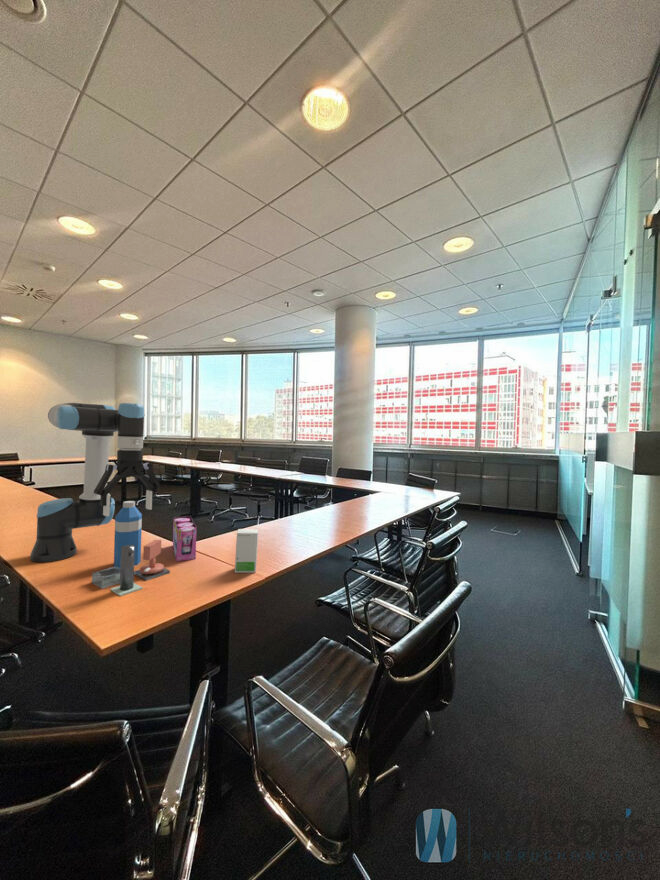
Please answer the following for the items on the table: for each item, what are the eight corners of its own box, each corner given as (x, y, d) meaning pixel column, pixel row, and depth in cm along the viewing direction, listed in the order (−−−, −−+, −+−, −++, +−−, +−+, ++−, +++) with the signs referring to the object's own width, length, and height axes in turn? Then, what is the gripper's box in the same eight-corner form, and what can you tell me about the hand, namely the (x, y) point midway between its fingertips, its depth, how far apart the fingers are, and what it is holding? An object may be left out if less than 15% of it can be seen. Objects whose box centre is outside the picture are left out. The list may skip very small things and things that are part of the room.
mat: (110, 590, 115) (110, 588, 115) (132, 583, 121) (132, 581, 121) (120, 596, 111) (120, 594, 111) (142, 588, 117) (142, 587, 117)
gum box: (196, 560, 145) (197, 528, 145) (176, 562, 141) (177, 530, 141) (190, 543, 166) (191, 515, 166) (172, 545, 162) (173, 517, 162)
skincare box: (234, 573, 133) (235, 533, 132) (236, 566, 139) (237, 528, 139) (256, 572, 134) (257, 532, 134) (257, 566, 140) (258, 528, 140)
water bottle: (128, 569, 133) (130, 504, 133) (107, 566, 135) (109, 503, 135) (145, 560, 142) (147, 500, 142) (126, 558, 144) (128, 499, 144)
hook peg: (117, 588, 116) (118, 546, 116) (130, 584, 119) (131, 544, 119) (125, 593, 112) (126, 550, 112) (138, 588, 116) (139, 547, 116)
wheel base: (133, 574, 129) (133, 570, 129) (157, 567, 136) (157, 563, 136) (145, 580, 123) (146, 577, 123) (169, 572, 131) (169, 569, 131)
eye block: (91, 582, 120) (92, 572, 120) (116, 575, 127) (116, 566, 127) (101, 589, 116) (101, 578, 116) (126, 581, 122) (126, 571, 122)
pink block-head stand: (147, 565, 134) (148, 539, 134) (167, 566, 134) (168, 540, 133) (134, 574, 125) (135, 546, 125) (156, 575, 125) (157, 547, 125)
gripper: (92, 450, 103) (90, 520, 104) (171, 449, 124) (169, 508, 124) (82, 449, 108) (80, 516, 108) (160, 448, 128) (158, 505, 128)
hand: (128, 512), depth 116 cm, fingers open, 13 cm apart
